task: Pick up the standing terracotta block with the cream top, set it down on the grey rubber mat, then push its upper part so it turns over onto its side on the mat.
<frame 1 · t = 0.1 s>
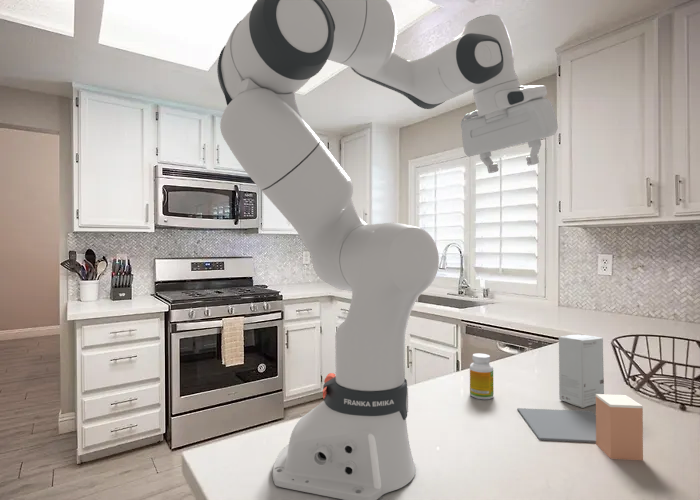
hand: (512, 168, 85), 52 cm above the countertop, tool tilted 20°, fingers open, 8 cm apart
block: (618, 452, 69), on the countertop
supplement bottle: (481, 396, 97), on the countertop
skincare box: (581, 402, 93), on the countertop
mat: (567, 425, 80), on the countertop
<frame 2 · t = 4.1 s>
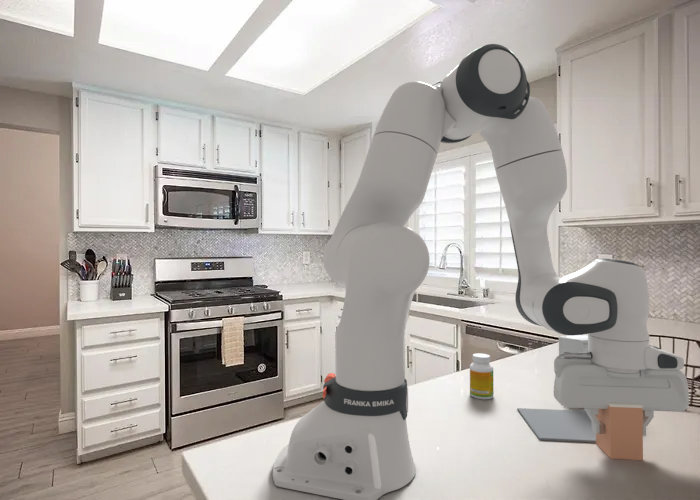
hand: (618, 433, 69), 3 cm above the countertop, tool pointing down, fingers closed on block, 5 cm apart
block: (618, 451, 69), on the countertop, touching gripper
everything else where it was.
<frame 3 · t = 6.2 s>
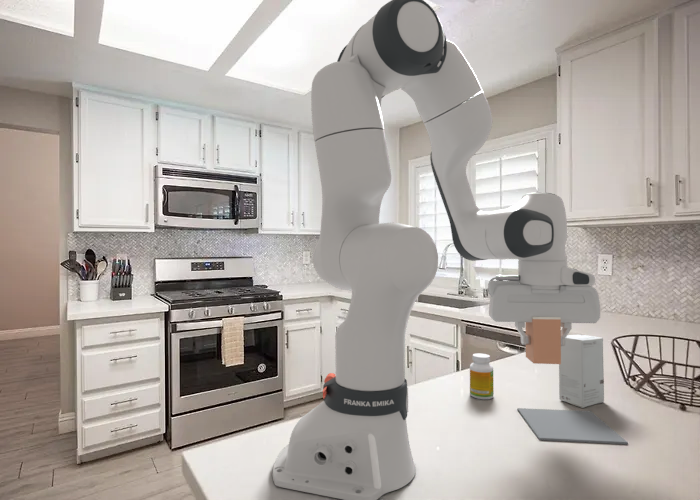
hand: (542, 344, 80), 16 cm above the countertop, tool pointing down, fingers closed on block, 5 cm apart
block: (542, 360, 80), point 13 cm above the countertop, touching gripper
everything else where it was.
when the fingers open (5 cm above the countertop, at t = 8.6 s): block drops 1 cm, resting on mat.
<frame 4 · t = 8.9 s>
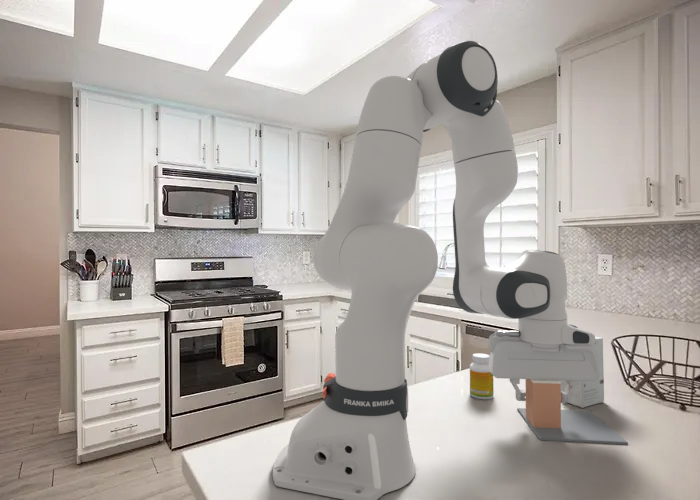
hand: (542, 400, 80), 5 cm above the countertop, tool pointing down, fingers open, 7 cm apart
block: (542, 422, 81), resting on mat
everything else where it was.
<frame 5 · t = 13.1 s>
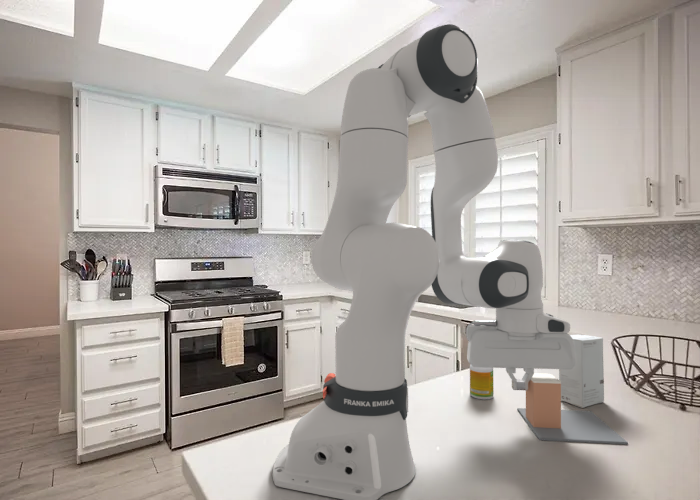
hand: (519, 389, 81), 7 cm above the countertop, tool pointing down, fingers closed
block: (542, 422, 81), resting on mat, touching gripper
everything else where it was.
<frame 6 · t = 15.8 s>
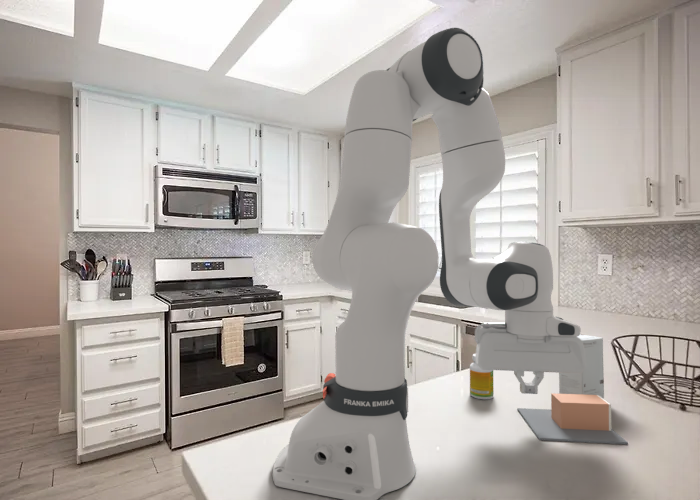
hand: (528, 392, 81), 6 cm above the countertop, tool pointing down, fingers closed
block: (556, 410, 80), point 3 cm above the countertop, tilted 90°, touching mat
everything else where it was.
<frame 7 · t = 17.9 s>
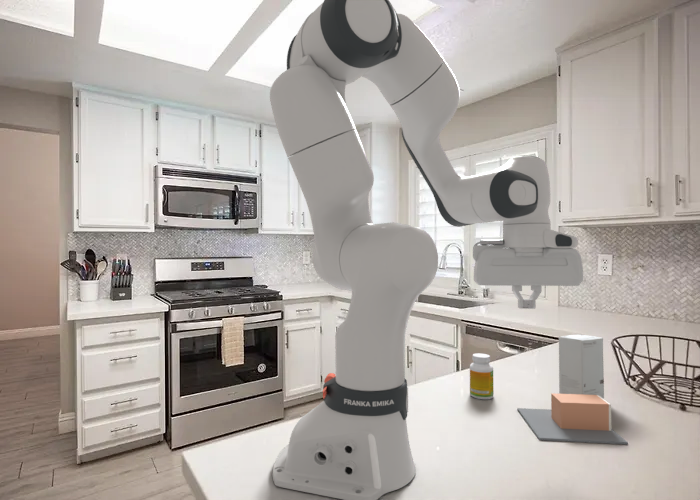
hand: (526, 308, 81), 23 cm above the countertop, tool pointing down, fingers closed
nothing on the countertop moved.
at the end: block tilted 90°; block inside the target area (2.6 cm from its centre), point 2.9 cm above the countertop; the gripper is holding nothing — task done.
